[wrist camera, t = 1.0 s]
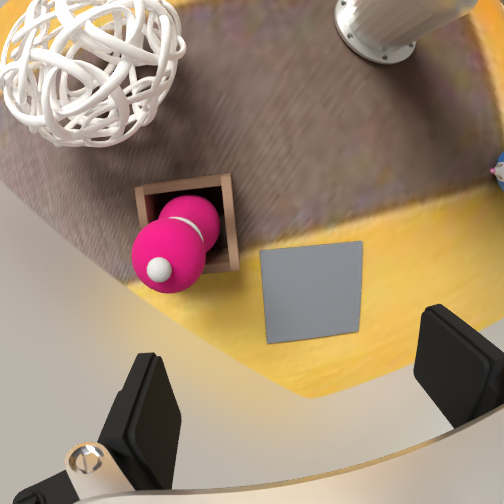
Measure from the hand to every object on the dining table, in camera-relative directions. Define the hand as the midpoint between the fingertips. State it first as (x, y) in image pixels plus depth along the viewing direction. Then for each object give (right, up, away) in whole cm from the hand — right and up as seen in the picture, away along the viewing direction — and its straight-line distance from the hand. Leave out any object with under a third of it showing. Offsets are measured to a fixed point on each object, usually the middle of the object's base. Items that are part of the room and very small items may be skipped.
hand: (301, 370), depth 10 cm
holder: (-9, +8, +30) cm, 32 cm away
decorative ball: (-19, +27, +24) cm, 40 cm away
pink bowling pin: (-9, +8, +30) cm, 32 cm away
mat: (+7, -2, +34) cm, 34 cm away
